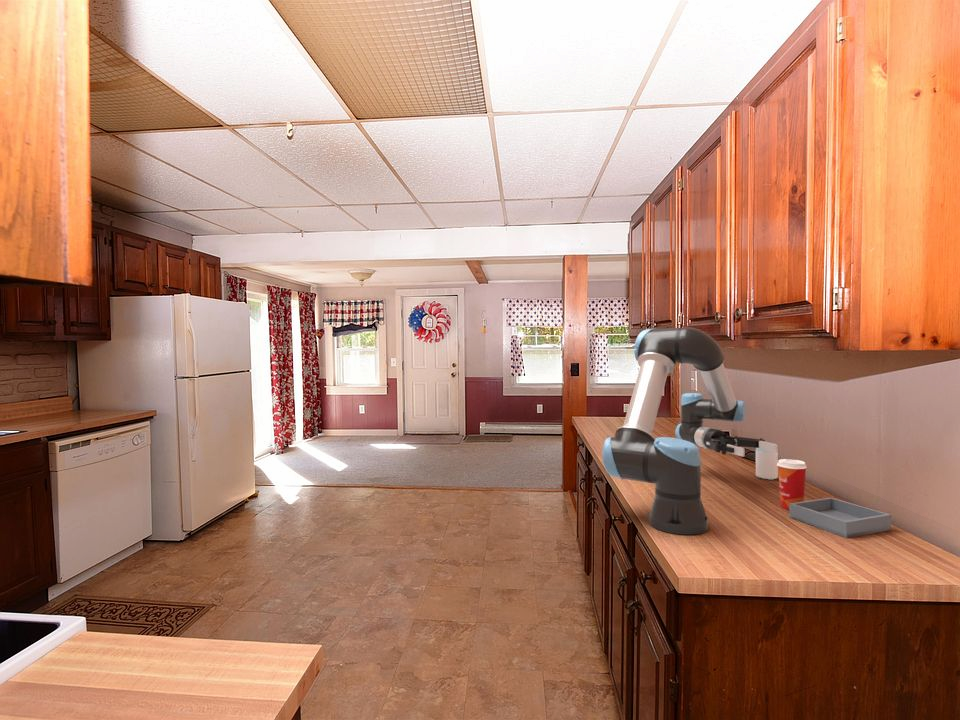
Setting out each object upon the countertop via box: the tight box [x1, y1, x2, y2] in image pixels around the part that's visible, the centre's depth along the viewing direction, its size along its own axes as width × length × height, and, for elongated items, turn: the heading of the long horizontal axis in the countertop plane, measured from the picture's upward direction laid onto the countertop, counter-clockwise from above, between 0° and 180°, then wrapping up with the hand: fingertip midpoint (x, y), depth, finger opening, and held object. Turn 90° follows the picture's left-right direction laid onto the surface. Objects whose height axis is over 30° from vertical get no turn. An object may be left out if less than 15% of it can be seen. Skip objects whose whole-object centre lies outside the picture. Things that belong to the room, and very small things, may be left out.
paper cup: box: [777, 458, 808, 511], centre depth 147 cm, size 8×8×14 cm
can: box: [755, 448, 779, 481], centre depth 180 cm, size 7×7×12 cm
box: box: [788, 497, 892, 539], centre depth 134 cm, size 16×16×4 cm
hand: (760, 450), depth 158 cm, fingers open, 13 cm apart
